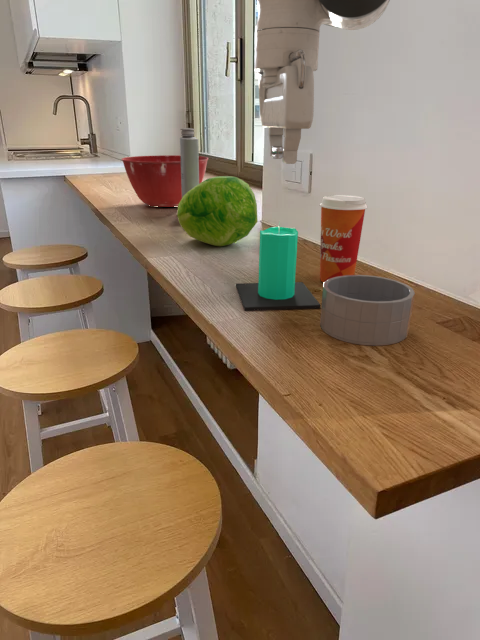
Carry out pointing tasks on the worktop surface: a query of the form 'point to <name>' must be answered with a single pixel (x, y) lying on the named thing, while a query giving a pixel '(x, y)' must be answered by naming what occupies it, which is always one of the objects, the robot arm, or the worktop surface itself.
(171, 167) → the mixing bowl
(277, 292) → the candle
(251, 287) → the coaster
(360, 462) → the worktop surface
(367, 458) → the worktop surface
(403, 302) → the tin
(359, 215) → the coffee cup
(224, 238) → the lettuce
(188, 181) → the flask
